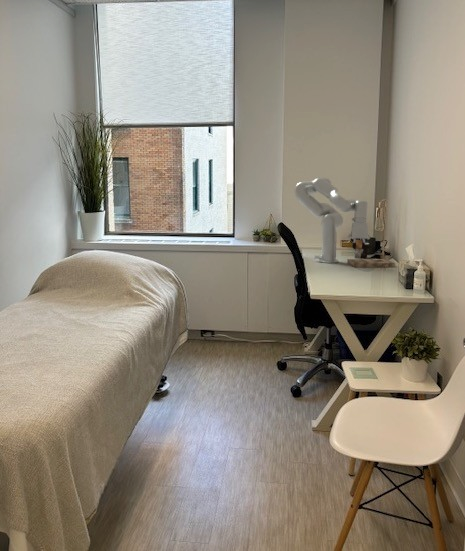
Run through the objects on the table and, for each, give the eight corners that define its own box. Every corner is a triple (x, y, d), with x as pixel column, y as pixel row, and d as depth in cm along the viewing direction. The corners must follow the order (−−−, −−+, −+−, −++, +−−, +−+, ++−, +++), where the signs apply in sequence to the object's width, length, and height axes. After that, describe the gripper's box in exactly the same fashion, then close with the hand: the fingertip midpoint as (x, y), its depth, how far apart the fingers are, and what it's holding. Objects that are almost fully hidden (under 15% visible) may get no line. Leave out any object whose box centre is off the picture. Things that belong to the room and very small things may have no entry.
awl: (355, 258, 341) (356, 241, 339) (353, 257, 345) (354, 240, 343) (362, 258, 341) (363, 241, 339) (360, 257, 346) (361, 240, 343)
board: (354, 267, 336) (354, 263, 335) (347, 263, 351) (347, 259, 351) (394, 266, 337) (395, 262, 337) (386, 262, 353) (386, 258, 352)
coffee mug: (353, 257, 374) (353, 243, 372) (361, 256, 379) (361, 242, 377) (366, 259, 365) (367, 245, 363) (374, 258, 370) (375, 244, 368)
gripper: (348, 220, 334) (346, 249, 338) (375, 221, 335) (373, 250, 339) (345, 219, 342) (343, 247, 345) (371, 219, 343) (369, 248, 346)
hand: (358, 248), depth 342 cm, fingers closed on awl, 4 cm apart
